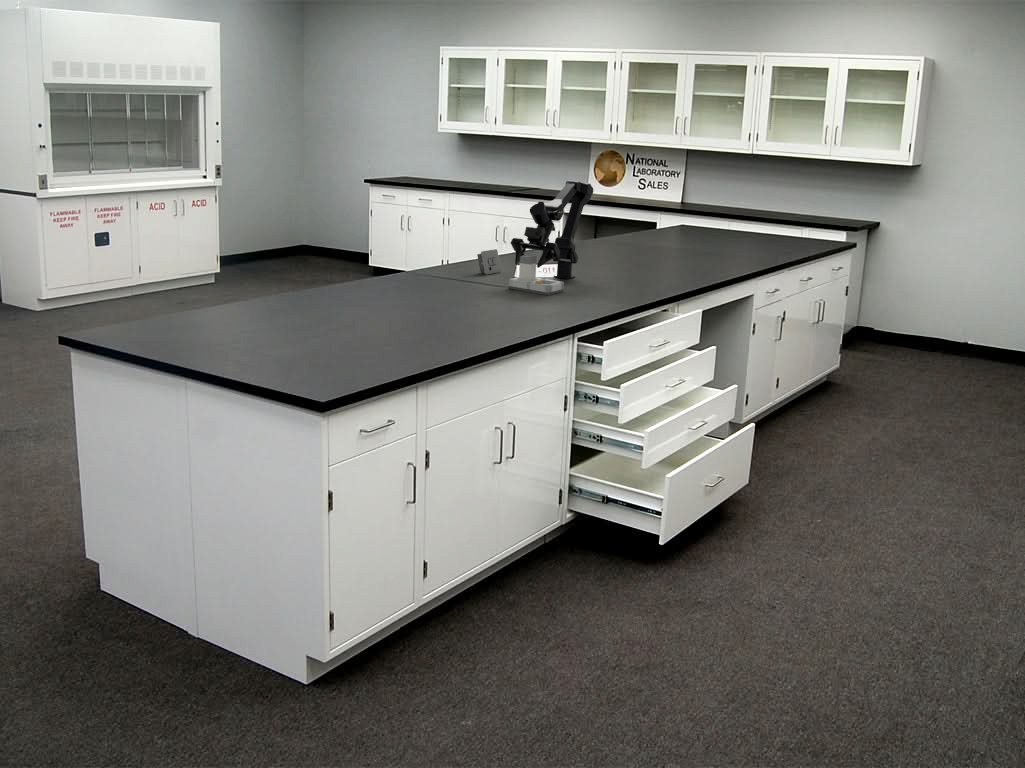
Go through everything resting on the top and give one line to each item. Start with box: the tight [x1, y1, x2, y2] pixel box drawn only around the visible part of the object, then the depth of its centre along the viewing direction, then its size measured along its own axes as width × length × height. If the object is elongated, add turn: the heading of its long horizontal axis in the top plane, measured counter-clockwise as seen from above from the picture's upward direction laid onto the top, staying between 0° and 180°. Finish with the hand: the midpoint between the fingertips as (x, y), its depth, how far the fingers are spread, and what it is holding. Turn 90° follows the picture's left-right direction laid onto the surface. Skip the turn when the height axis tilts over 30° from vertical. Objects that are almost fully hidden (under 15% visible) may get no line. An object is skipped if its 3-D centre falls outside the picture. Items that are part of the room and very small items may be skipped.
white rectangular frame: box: [508, 276, 565, 296], centre depth 374 cm, size 10×18×4 cm, turn 56°
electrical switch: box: [477, 248, 502, 275], centre depth 404 cm, size 9×5×9 cm, turn 141°
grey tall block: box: [518, 254, 537, 281], centre depth 375 cm, size 4×4×11 cm
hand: (526, 265), depth 373 cm, fingers open, 9 cm apart
